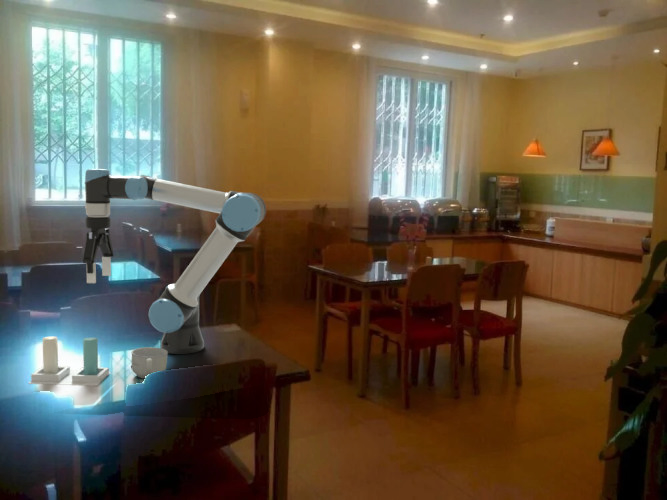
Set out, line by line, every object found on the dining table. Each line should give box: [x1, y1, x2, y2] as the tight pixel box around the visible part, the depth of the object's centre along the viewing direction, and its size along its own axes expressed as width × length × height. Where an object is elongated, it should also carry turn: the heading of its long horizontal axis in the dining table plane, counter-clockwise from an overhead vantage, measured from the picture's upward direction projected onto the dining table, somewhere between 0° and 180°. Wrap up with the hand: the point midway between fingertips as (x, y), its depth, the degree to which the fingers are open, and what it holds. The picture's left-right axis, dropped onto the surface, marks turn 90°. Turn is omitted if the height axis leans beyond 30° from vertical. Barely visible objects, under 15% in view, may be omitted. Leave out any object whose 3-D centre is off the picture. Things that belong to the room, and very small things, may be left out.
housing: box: [28, 365, 112, 387], centre depth 185 cm, size 20×12×3 cm, turn 90°
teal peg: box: [82, 337, 99, 375], centre depth 184 cm, size 4×4×12 cm
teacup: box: [130, 346, 169, 379], centre depth 190 cm, size 14×11×8 cm
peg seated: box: [42, 336, 59, 374], centre depth 184 cm, size 4×4×12 cm
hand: (99, 279), depth 205 cm, fingers open, 13 cm apart
